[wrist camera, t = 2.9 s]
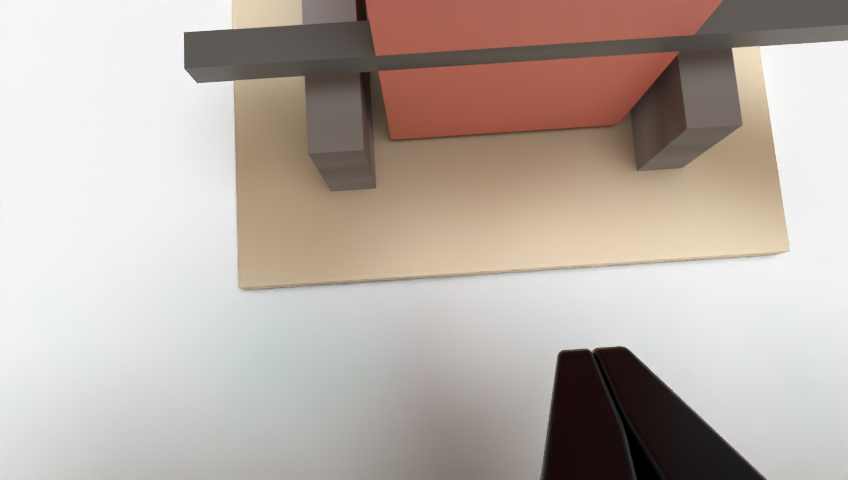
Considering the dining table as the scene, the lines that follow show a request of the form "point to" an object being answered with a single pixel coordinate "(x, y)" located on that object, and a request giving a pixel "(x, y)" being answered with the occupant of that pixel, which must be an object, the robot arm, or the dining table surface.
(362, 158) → the beige base board
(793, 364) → the dining table surface
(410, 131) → the red plug
